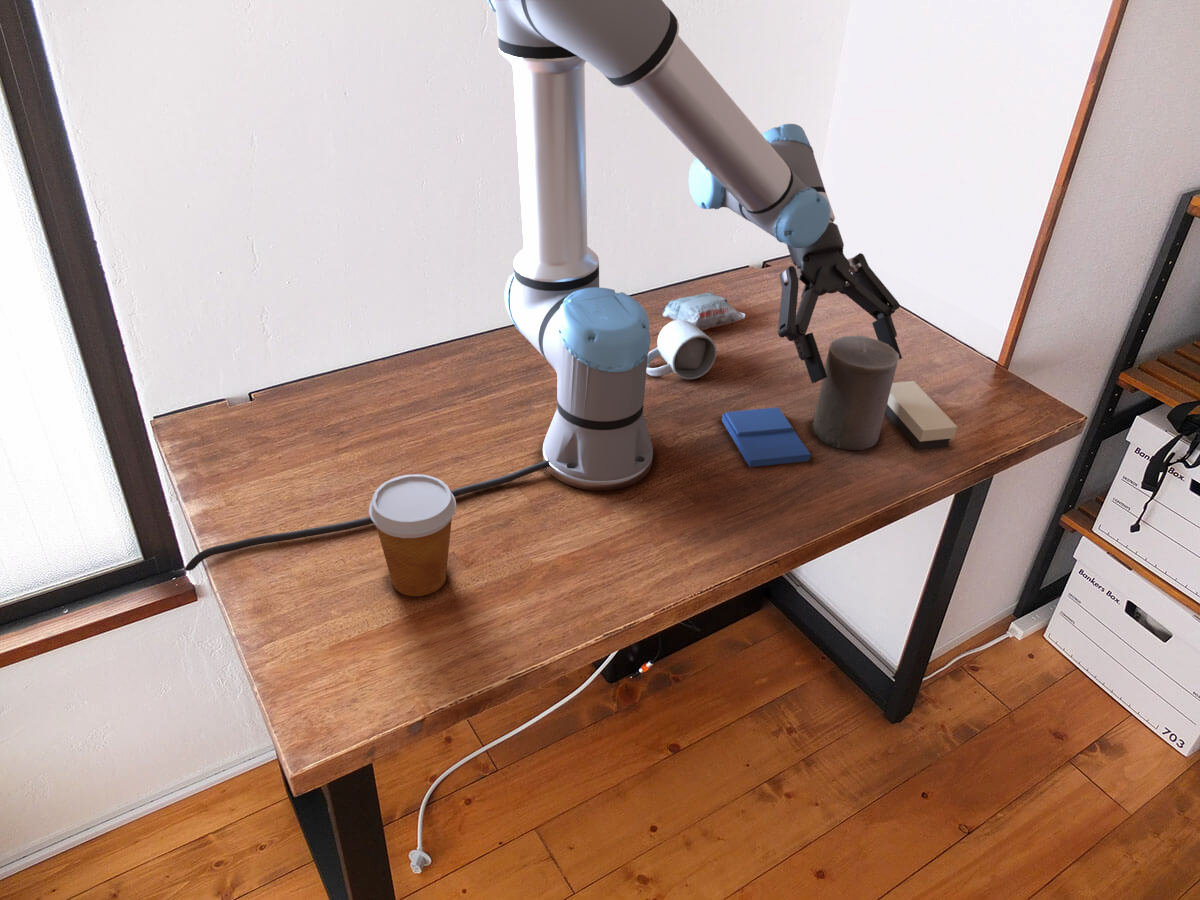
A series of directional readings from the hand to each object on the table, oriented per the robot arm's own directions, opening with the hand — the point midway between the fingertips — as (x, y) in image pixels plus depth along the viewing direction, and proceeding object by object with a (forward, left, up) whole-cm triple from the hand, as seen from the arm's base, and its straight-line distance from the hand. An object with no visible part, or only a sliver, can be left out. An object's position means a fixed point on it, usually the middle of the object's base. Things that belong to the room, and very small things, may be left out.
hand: (857, 370), depth 135 cm
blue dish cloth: (-13, 0, -11) cm, 16 cm away
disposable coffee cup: (-64, -21, -11) cm, 68 cm away
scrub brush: (+11, 0, -11) cm, 15 cm away
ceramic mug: (-20, +21, -11) cm, 31 cm away
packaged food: (-11, +35, -11) cm, 39 cm away
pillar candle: (0, 0, -11) cm, 11 cm away
